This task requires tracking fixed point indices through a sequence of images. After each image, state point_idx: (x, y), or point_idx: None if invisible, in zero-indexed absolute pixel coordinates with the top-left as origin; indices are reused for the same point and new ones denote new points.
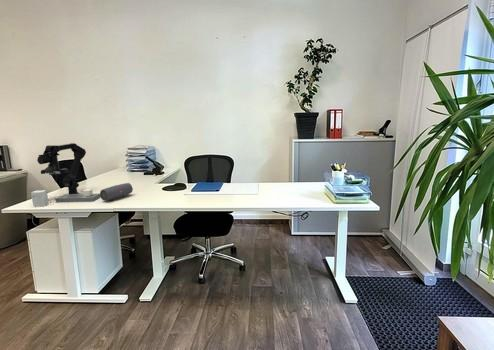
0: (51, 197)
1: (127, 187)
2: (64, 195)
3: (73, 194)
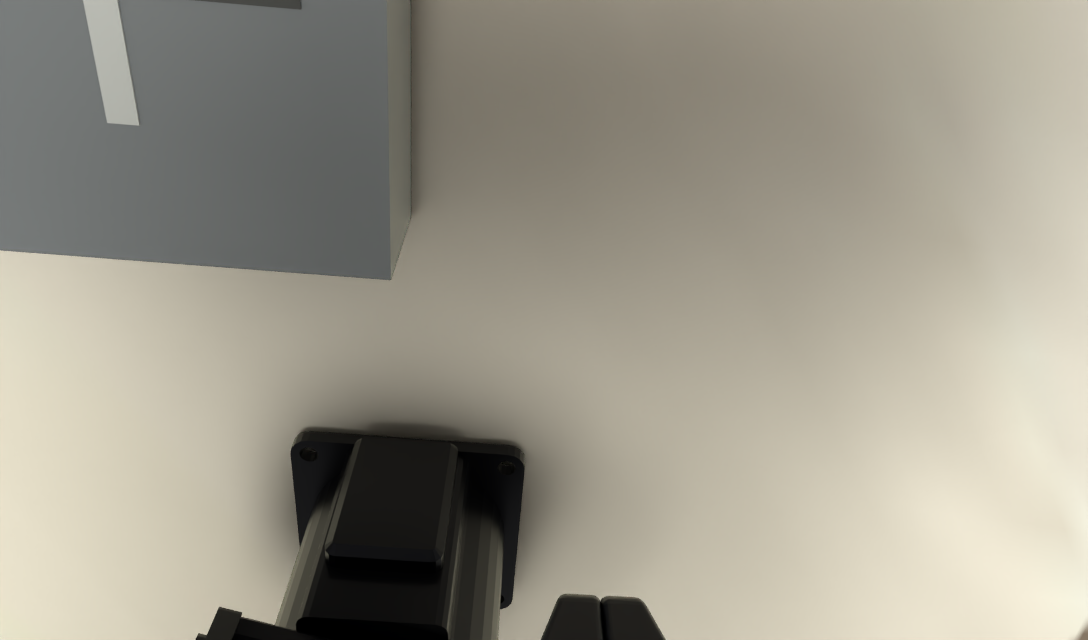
0: (915, 332)
1: None
2: (282, 85)
3: (7, 182)
